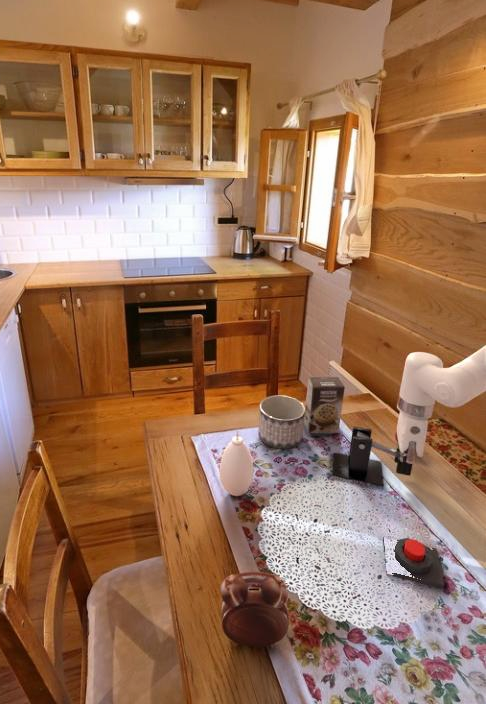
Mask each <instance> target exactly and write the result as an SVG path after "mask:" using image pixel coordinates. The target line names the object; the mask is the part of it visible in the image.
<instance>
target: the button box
mask: <svg viewBox="0 0 486 704" xmlns="http://www.w3.org/2000/svg"><path fill="white" fill-rule="evenodd" d="M407 540H416V541H418V542H420V541H419V540H417V539H415V538H409V537H405V538H400V539H397V541H398V542H397V544H396V546H395V550H394V552H395V558H396V560H397V561H398V562H399V563H400V565H401V566H402V567H404V568H405V569H406V570H407V571H408V572H410V573H411V574H410V575H412V577H409V576H405V575H401V574H397V573H392V574H394V575H393V576H392V577H394V578H399V579H401V580H406V581H410V582H414V583H417V584H422V585H425V586H430V587H433V588H437V589H442V590H444V588H445V581H444V576H443V573H442V568H441V564H440V559H439V554H438V551H437V550H438V549H437V548H435V547H431V548H432V549H433V550H431V549H430V548H429V547H430V546H426V544H424V543H422V542H420V543H421V544H422V545H423V546H424V548H425V555H424V559H423V560H422V561H421V562H414V561H412V560H410V559H409V558H407V557H406V555H405V554H404V546H405V542H406V541H407ZM382 544H383V545H382V546H383V553H384V552H385V546H384V537H383V539H382ZM413 576H414V577H415V578H413ZM417 578H418V579H417ZM420 579H421V580H420Z"/></svg>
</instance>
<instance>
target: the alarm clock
mask: <svg viewBox="0 0 486 704" xmlns="http://www.w3.org/2000/svg"><path fill="white" fill-rule="evenodd" d="M247 576H249V577H247ZM250 576H259V577H250ZM243 577H247V578H243ZM261 577H264V578H261ZM220 585H221V586H220V596H221V598H222V603H221V612H220V613H221V615H220V616H221V628H222V631H223V633H224V634H225V636H226V637H227V638H228V639H229V641H230V640H231V641H232V642H234V643H233V645H234V647H236V646H238V645H240V646H242V647H249V648H265V647H269V646H270V647H271V648H274V645H275V644H277V643H278V642H280V641H282V640H283V639H284V638H285V636H286V635H287V633H288V630H289V609H288V604H287V600H288V597H289V589H288V586H287V584H286V582H285V581H284V579H282V577H280V576H278V575H276V574H272V573H269V572H264V571H245V572H239V573H237V574H234V573H233V574H230V575H228V576H226V578H224V579H223V581H222V583H221V584H220Z"/></svg>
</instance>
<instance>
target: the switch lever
mask: <svg viewBox="0 0 486 704" xmlns="http://www.w3.org/2000/svg"><path fill="white" fill-rule="evenodd" d="M356 436H359V437H364V438H369V435H366V434H364V433H361V432H359V431H358V432H357V434H356ZM371 448H374V449H376V450H379V451H380V452H383V453H387V454H388V455H391V456H393V457H395V456H396V457H398V458H399V459H400V455H401V452H398V451H396V449H393V448H390V447H388V446H386V445H384V444H381V443H378V442H376V441H373V440H372V447H371ZM404 456H407V454H406V453H404Z"/></svg>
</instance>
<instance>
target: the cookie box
mask: <svg viewBox="0 0 486 704" xmlns="http://www.w3.org/2000/svg"><path fill="white" fill-rule="evenodd" d="M306 389H307V390H306V399H305V405H304V407H305V418H304V426H305V429H306V430H307V433H309V434H323V433H324V434H325V433H326V434H327V433H339V432H340V425H341V424H340V423H341V417H342V410H343V403H344V397H345V396H344V395H345V389H346V386H345V385H344V383H343V382H342V381H341V379H340V378H339V376H308V379H307V388H306Z"/></svg>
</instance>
